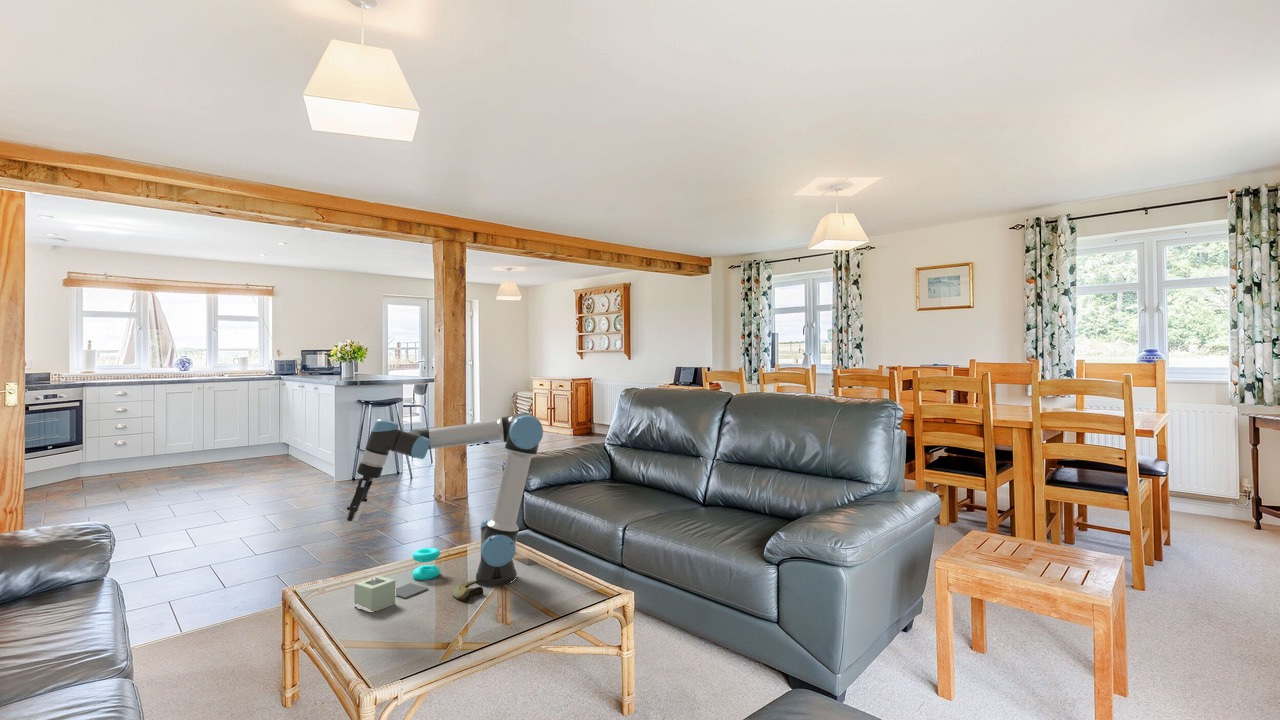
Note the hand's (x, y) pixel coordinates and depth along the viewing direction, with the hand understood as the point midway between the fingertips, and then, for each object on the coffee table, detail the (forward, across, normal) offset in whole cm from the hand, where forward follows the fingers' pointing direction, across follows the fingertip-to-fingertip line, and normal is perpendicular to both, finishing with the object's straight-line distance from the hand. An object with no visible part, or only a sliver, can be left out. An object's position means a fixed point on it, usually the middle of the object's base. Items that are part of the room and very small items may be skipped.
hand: (349, 524), depth 197 cm
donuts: (+19, -24, +31) cm, 43 cm away
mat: (+21, -9, +26) cm, 34 cm away
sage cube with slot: (+24, +1, +16) cm, 29 cm away
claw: (+15, -3, +46) cm, 48 cm away
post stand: (+24, +1, +16) cm, 29 cm away
